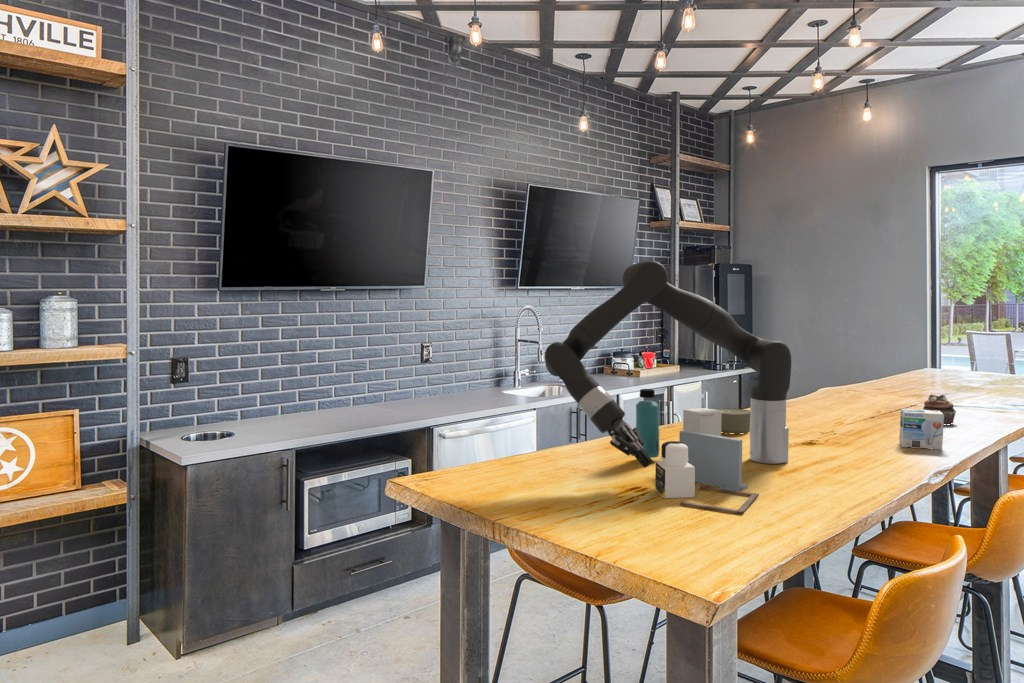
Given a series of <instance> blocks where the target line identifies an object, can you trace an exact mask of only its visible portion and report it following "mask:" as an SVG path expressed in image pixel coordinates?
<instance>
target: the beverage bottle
mask: <svg viewBox="0 0 1024 683" xmlns="http://www.w3.org/2000/svg"><path fill="white" fill-rule="evenodd" d="M639 397H640V398H643V399H644V398H647V399H648V398H649V399H651V398H655V397H656V395H655V389H653V388H652V389H651V388H641V389H640V390H639ZM659 407H660V405H659V404H658V402H656V401H654V400H640V401H638V402H637V403H636V404H635V416H636V417H635V427H636V428H637V429H638V431H639V433H640V435H641V438H642V440H643V443H644V446H643V450H644V451H645V452H646V454H647V455H648V456H649V457H650V458H651V459H653V458H658V457H659V455H660V448H661V447H660V419H659V416H660V415H659V414H660V413H659ZM635 427H634V428H635Z"/></svg>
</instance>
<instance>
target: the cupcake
mask: <svg viewBox="0 0 1024 683" xmlns="http://www.w3.org/2000/svg"><path fill="white" fill-rule="evenodd" d="M927 399H928V400H925V401H924V403H923V404H924V406H923V409H922V410H937V411H940V412H942V413H943V414H944V424H951V423H953V424H954V419H955V416H956V412H957V410H956V409H955V408H954V404H953V403H952V402H951V401H949V400H948V399H947V397H946V395H944V394H940V395H938V396H937V395H934V394H930V395H929V396H928V398H927Z"/></svg>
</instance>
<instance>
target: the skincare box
mask: <svg viewBox="0 0 1024 683" xmlns="http://www.w3.org/2000/svg"><path fill="white" fill-rule="evenodd" d="M682 412H683V415H682V416H683V417H682V418H683V421H682V422H683V425H682V428H683V429H682V430H684V431H690V432H697V433H703V434H709V435H716V436H722V434H721V416H722V411H720V410H715V409H713V408H706V407H703V408H700V407H699V408H686V409H685V408H684V409H683V410H682Z"/></svg>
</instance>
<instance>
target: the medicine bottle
mask: <svg viewBox="0 0 1024 683" xmlns="http://www.w3.org/2000/svg"><path fill="white" fill-rule="evenodd" d="M687 461H688V445H687V444H685V443H683V442H679V441H675V440H669V441H665V442H664V443H662V444H661V460H660V459H659V460H655V483H654V484H655V491H656V492H657V493H658V494H660V496H661V497H662V498H664V499H665V498H667V499H689V498H690V499H692V498H695V496H696V495H695V494H696V492H695V491H696V490H695V489H696V487H695V483H696V482H695V467H694V466H692V465H691V464H689V463H688V462H687Z"/></svg>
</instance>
